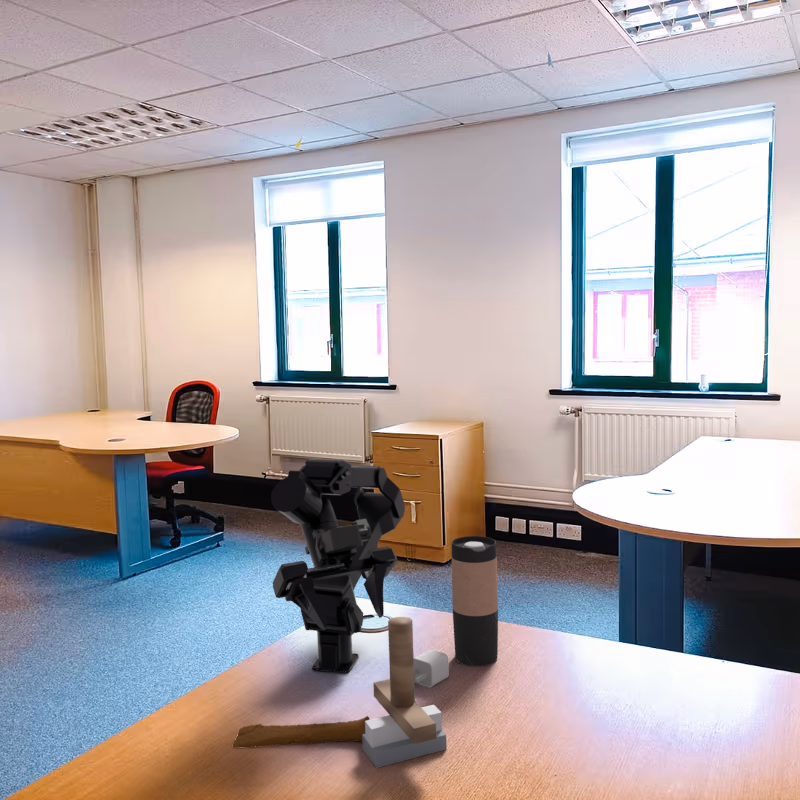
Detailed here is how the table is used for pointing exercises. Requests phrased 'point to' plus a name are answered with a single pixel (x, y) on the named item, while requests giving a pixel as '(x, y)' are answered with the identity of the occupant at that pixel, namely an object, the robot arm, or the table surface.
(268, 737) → the primitive tool
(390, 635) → the t bar
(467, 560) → the travel mug
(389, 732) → the ridge block
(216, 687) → the table surface
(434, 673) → the usb wall charger
